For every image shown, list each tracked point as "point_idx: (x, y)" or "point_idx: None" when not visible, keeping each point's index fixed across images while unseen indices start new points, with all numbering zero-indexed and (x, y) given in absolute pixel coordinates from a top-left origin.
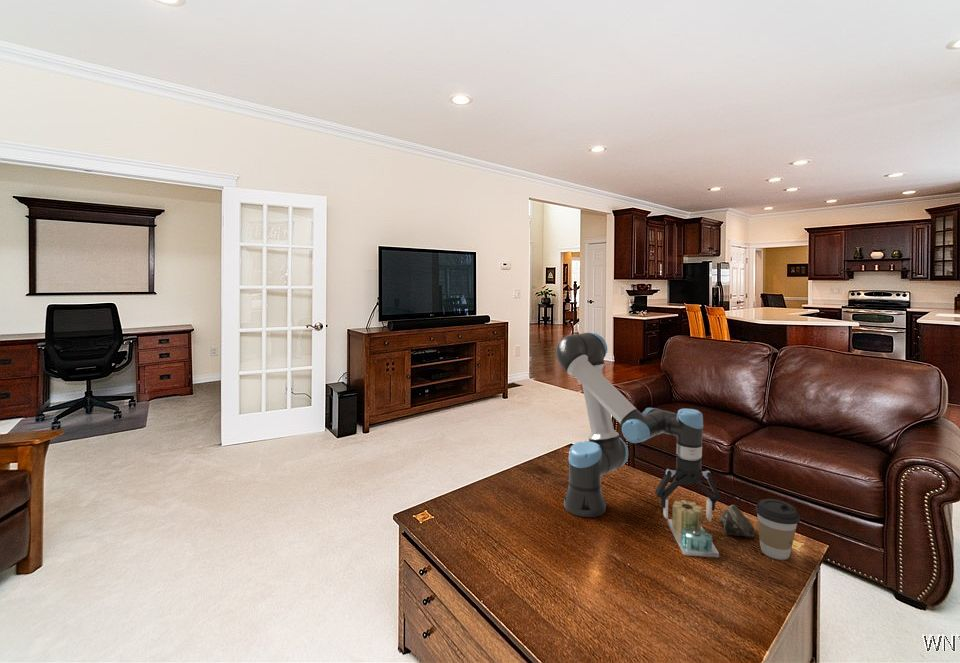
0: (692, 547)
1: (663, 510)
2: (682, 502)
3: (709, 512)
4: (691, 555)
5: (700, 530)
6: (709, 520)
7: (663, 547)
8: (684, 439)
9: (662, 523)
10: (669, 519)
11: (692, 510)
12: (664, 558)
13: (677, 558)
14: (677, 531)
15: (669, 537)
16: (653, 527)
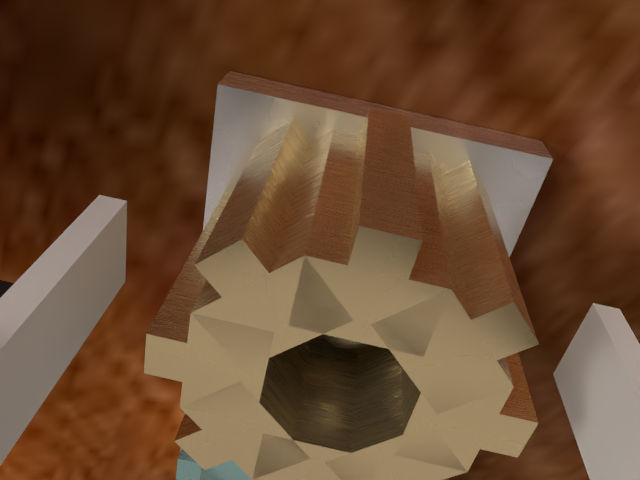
0: None
1: (73, 229)
2: (331, 298)
3: (586, 457)
4: None
5: None
6: (560, 381)
7: (82, 371)
8: None
9: (175, 68)
10: (236, 94)
11: (354, 472)
12: (62, 449)
13: (139, 459)
14: None
15: (163, 282)
16: (65, 130)
